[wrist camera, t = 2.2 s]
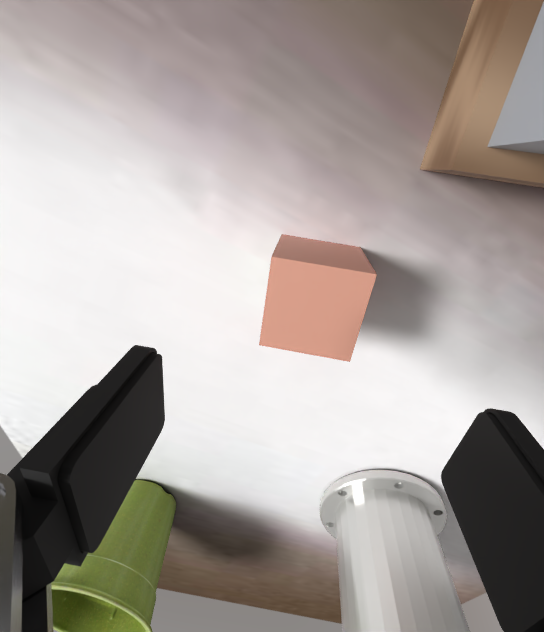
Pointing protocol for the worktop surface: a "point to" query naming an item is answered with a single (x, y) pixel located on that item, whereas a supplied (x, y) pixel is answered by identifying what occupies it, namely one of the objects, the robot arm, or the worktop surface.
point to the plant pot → (118, 569)
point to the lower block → (484, 97)
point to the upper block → (525, 100)
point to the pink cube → (316, 297)
